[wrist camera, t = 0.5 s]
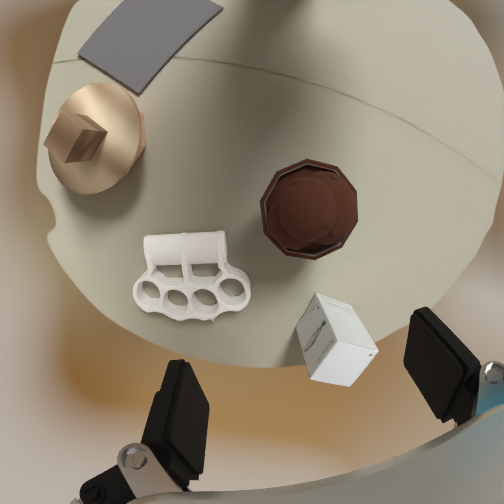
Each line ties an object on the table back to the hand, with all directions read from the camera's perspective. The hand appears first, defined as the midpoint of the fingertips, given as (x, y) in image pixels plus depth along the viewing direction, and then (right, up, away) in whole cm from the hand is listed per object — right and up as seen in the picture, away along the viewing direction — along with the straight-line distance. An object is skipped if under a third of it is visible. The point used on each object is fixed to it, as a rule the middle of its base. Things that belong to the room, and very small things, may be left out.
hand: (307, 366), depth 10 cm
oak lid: (-23, +19, +18) cm, 35 cm away
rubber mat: (-18, +38, +17) cm, 46 cm away
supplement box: (+10, -6, +34) cm, 36 cm away
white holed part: (-12, +1, +31) cm, 33 cm away
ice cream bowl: (+4, +12, +27) cm, 30 cm away
